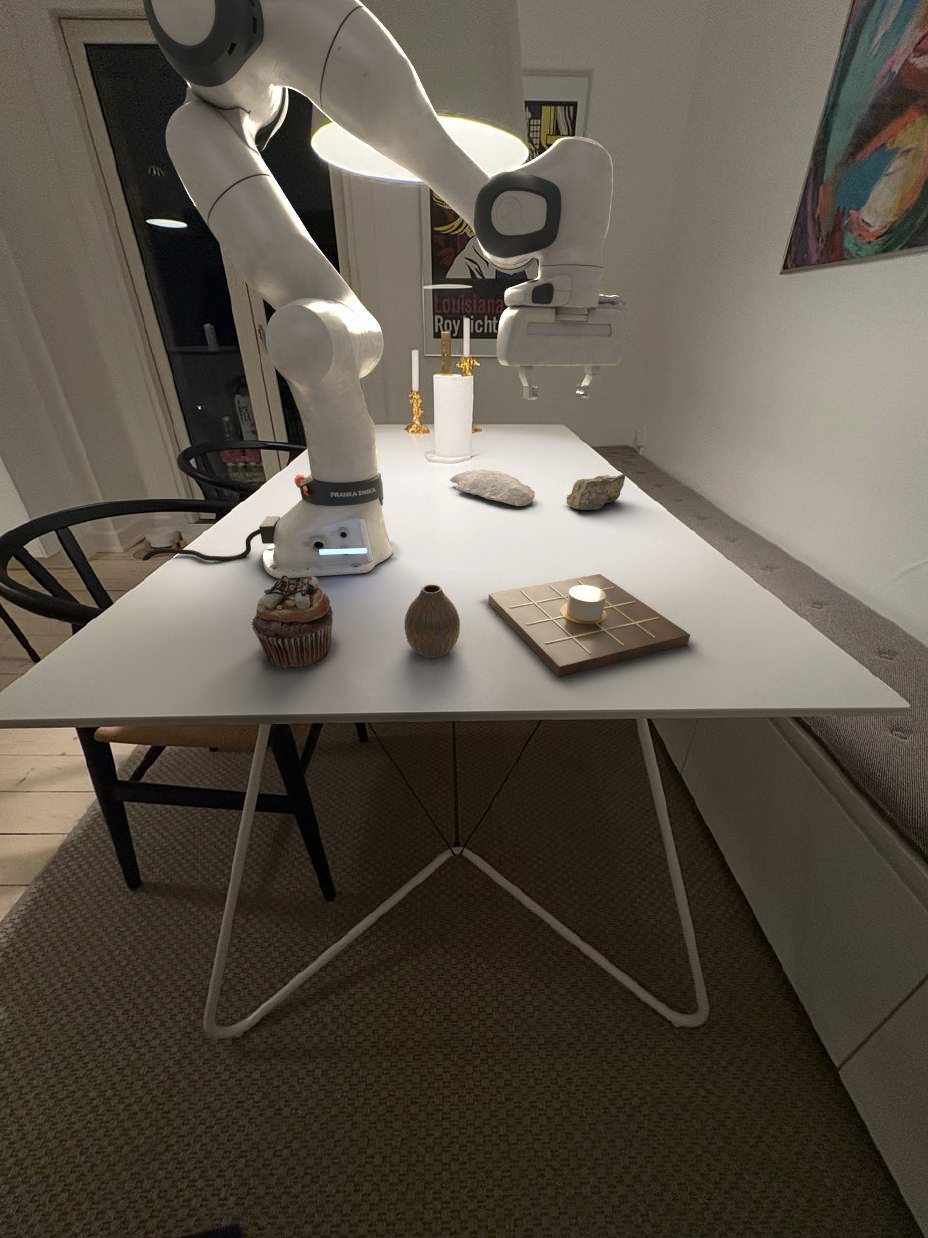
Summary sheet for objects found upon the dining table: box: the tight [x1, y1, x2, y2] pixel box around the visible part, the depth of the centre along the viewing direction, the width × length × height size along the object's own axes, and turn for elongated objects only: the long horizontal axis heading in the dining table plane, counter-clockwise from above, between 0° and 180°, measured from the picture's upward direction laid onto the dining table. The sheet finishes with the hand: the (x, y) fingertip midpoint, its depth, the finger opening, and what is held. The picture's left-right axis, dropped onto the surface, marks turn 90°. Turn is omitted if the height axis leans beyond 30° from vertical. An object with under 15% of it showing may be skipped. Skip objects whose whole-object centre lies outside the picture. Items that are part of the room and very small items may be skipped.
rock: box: [566, 473, 626, 511], centre depth 117 cm, size 17×7×10 cm
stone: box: [449, 469, 536, 507], centre depth 124 cm, size 16×5×25 cm
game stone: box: [566, 585, 606, 621], centre depth 71 cm, size 5×5×3 cm
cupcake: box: [250, 576, 334, 669], centre depth 62 cm, size 10×10×10 cm
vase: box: [404, 584, 461, 659], centre depth 63 cm, size 7×7×9 cm
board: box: [487, 573, 691, 678], centre depth 72 cm, size 20×20×2 cm
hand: (556, 398), depth 79 cm, fingers open, 8 cm apart
